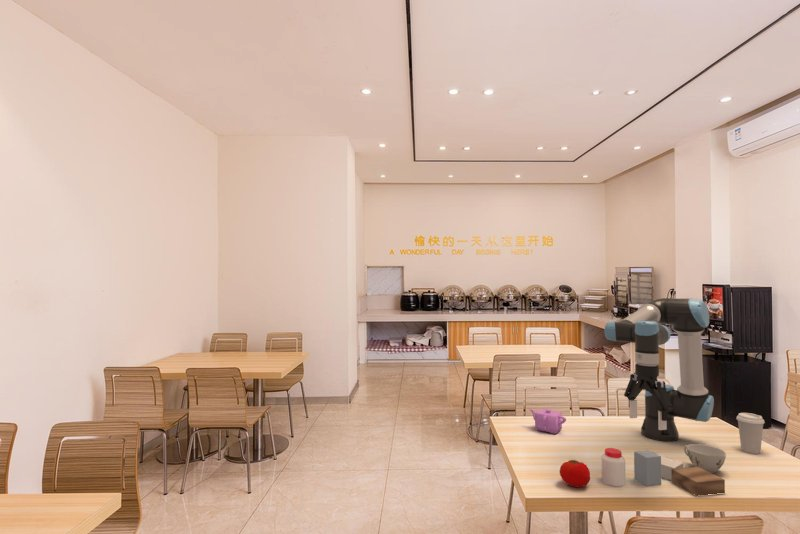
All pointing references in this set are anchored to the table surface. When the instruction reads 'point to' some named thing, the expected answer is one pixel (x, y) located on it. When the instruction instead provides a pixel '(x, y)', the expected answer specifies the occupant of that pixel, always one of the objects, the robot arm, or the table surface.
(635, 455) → the slate block
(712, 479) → the walnut block
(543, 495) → the table surface
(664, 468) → the grey block
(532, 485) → the table surface
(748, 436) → the coffee cup
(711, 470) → the teacup
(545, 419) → the teapot
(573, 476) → the tomato
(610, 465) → the pill bottle
